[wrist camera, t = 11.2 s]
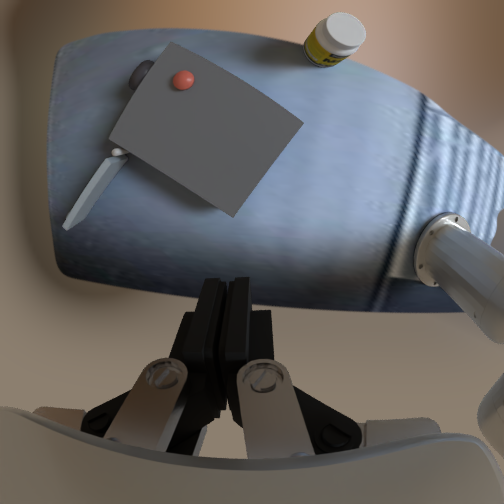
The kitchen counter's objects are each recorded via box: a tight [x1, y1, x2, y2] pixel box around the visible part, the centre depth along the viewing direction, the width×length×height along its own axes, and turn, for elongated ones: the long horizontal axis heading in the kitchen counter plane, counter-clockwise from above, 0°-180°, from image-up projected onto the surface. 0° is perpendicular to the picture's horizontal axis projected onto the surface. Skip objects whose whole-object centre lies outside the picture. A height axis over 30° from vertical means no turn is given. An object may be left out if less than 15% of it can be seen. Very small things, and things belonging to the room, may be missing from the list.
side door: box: [63, 154, 128, 230], centre depth 28 cm, size 11×2×5 cm, turn 133°
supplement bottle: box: [303, 12, 366, 67], centre depth 21 cm, size 5×5×8 cm
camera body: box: [108, 42, 304, 218], centre depth 26 cm, size 18×13×6 cm
